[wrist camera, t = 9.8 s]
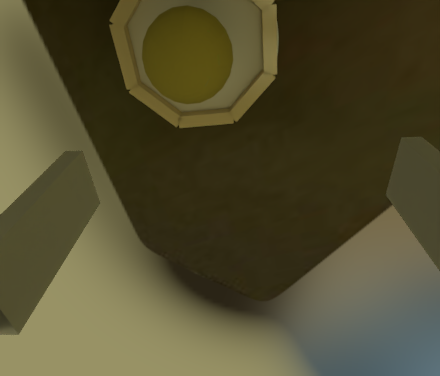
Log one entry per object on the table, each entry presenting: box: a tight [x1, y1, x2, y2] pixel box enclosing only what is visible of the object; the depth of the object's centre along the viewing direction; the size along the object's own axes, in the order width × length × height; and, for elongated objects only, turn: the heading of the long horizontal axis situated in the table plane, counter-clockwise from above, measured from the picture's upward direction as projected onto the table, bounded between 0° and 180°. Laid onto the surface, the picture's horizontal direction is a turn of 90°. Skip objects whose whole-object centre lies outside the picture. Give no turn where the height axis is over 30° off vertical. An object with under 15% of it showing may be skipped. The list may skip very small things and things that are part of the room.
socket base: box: [109, 0, 279, 128], centre depth 29 cm, size 15×15×2 cm
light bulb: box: [142, 5, 233, 104], centre depth 24 cm, size 7×7×10 cm
